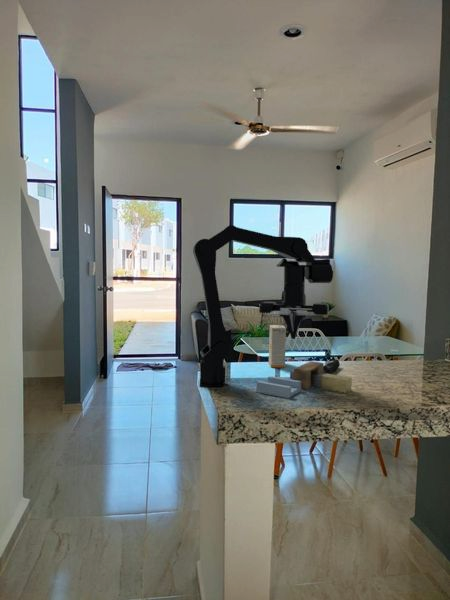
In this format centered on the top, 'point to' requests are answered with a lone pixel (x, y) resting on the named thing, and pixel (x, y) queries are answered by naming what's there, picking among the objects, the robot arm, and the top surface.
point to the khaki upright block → (336, 383)
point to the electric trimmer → (331, 367)
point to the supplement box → (277, 346)
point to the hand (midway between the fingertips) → (293, 338)
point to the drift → (314, 379)
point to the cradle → (279, 387)
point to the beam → (307, 373)
